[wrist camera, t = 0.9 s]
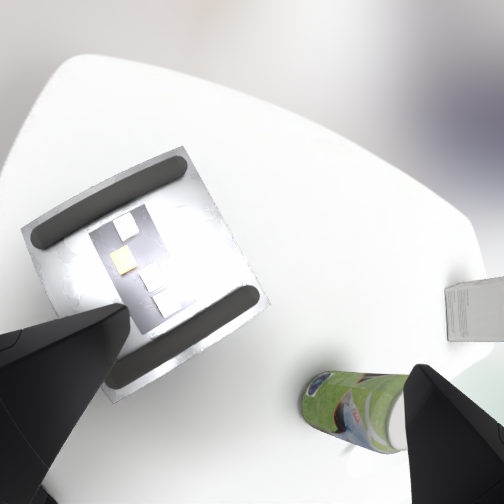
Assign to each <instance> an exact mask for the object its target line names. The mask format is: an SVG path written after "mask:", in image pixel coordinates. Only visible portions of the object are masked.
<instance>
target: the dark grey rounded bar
mask: <svg viewBox="0 0 504 504" xmlns="http://www.w3.org/2000/svg"><path fill="white" fill-rule="evenodd" d="M187 168H188V164H187V161H186V160H185V159H184V158H183V157H181V156H173V157H170V158H168V159H166V160H163V161H161V162H159V163H156V164H154V165H152V166H150V167H147V168H145V169H143V170H141V171H138V172H136V173H134V174H132V175H130V176H128V177H126V178H124V179H122V180H120V181H117V182H115V183H113V184H111V185H109V186H107V187H105V188H103V189H102V190H100V191H98V192H96V193H94V194H92V195H90V196H88V197H86V198H84V199H83V200H81V201H79V202H77V203H75V204H74V205H72V206H70V207H68V208H66V209H65V210H63V211H61V212H60V213H58V214H56V215H54V216H53V217H51V218H49V219H48V220H46V221H44V222H43V223H41V224H40V225H38V226H36V227H35V228H34V229H33V230H32V232H31V235H30V240H31V243H32V245H33V246H34V247H35V248H37V249H44V248H46V247H48V246H49V245H51V244H52V243H54V242H56V241H57V240H59V239H61V238H62V237H64V236H66V235H68V234H69V233H71V232H73V231H74V230H76V229H78V228H80V227H81V226H83V225H85V224H87V223H89V222H90V221H92V220H94V219H96V218H98V217H99V216H101V215H103V214H105V213H107V212H109V211H111V210H113V209H114V208H116V207H118V206H120V205H122V204H124V203H126V202H128V201H130V200H132V199H134V198H136V197H138V196H140V195H142V194H144V193H146V192H148V191H150V190H153V189H155V188H157V187H159V186H161V185H163V184H165V183H168V182H170V181H172V180H174V179H176V178H179V177H181V176H183V175H184V174H185V173H186V171H187Z"/></svg>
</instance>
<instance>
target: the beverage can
mask: <svg viewBox="0 0 504 504" xmlns="http://www.w3.org/2000/svg"><path fill="white" fill-rule="evenodd" d="M408 376H409V375H400V374H372V373H355V372H341V371H328V372H324V373H322V374H320V375H318V376H317V377H316V378H314V379H313V380H312V381H311V383H310V384H309V385H308V387H307V389H306V390H305V393H304V395H303V399H302V412H303V416H304V418H305V420H306V421H307V423H308V424H309V425H310V426H312V427H313V428H315V429H317V430H320V431H322V432H325V433H327V434H329V435H332V436H334V437H337V438H339V439H342V440H345V441H347V442H350V443H353V444H355V445H358V446H361V447H364V448H367V449H370V450H372V451H376V452H379V453H381V454H393V453H397V452H399V451H406V450H408V448H407V440H406V431H405V413H404V395H403V387H404V383H405V381H406V380H407V378H408Z"/></svg>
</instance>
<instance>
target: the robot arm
mask: <svg viewBox="0 0 504 504" xmlns="http://www.w3.org/2000/svg"><path fill="white" fill-rule="evenodd" d="M130 329H131V326H130V311H129V307H128V306H126V305H123V304H120V303H113V304H109V305H106V306H102V307H99V308H95V309H92V310H88V311H85V312H81V313H78V314H74V315H71V316H67V317H64V318H60V319H57V320H53V321H49V322H46V323H42V324H39V325H35V326H31V327H28V328H24V329H23V330H22V329H20V330H17V331H13V332H9V333H5V334H1V335H0V504H57V502H56V501H54V500H53V499H52V498H51V497H50V496H49V495H48V494H47V493H46V492H45V491H44V490H43V489H42V488H41V487H40V484H41V483H42V481H43V479H44V477H45V476H46V474H47V472H48V470H49V469H48V468H50V467H51V465H52V463H53V461H54V460H55V458H56V456H57V455H58V453H59V451H60V449H61V448H62V446H63V444H64V443H65V441H66V440H67V438H68V436H69V435H70V433H71V431H72V430H73V428H74V426H75V425H76V423H77V422H78V420H79V418H80V417H81V415H82V414H83V412H84V411H85V409H86V407H87V406H88V404H89V403H90V401H91V400H92V398H93V397H94V395H95V393H96V392H97V390H98V389H99V387H100V386H101V384H102V383H103V381H104V380H105V378H106V377H107V375H108V374H109V372H110V370H111V369H112V367H113V365H114V363H115V361H116V359H117V357H118V355H119V353H120V351H121V349H122V347H123V345H124V344H125V342H126V340H127V338H128V336H129V334H130ZM403 395H404V413H405V431H406V440H407V448H408V455H409V467H410V478H411V493H412V504H504V427H503V426H502V425H501V424H499V423H497V421H496V420H495V419H493V418H492V417H491V416H490V415H489V414H487V413H486V412H485V411H484V410H483V409H481V408H480V407H479V406H478V405H476V404H475V403H474V402H473V401H472V400H470V399H469V398H468V397H467V396H466V395H465V394H463V393H462V392H461V391H460V390H458V389H457V388H456V387H455V386H453V385H452V384H451V383H450V382H449V381H447V380H446V379H445V378H444V377H442V376H441V375H440V374H439V373H438V372H436V371H435V370H434V369H433V368H431V367H430V366H429V365H427V364H416V365H415V366H414V367H413V369H412V371H411V373H410V374H409V376H408V378H407V380H406V381H405V383H404V387H403Z"/></svg>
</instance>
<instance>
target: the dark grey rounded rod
mask: <svg viewBox="0 0 504 504" xmlns="http://www.w3.org/2000/svg"><path fill="white" fill-rule="evenodd" d="M259 299H260V293H259V291H258V289H257V288H256V287H254V286H252V285H245V286H243V287H241V288H239V289H238V290H236V291H235V292H233V293H231V294H230V295H228V296H227V297H225V298H223V299H222V300H220V301H219V302H217V303H215V304H214V305H212V306H211V307H209V308H207V309H206V310H204V311H202V312H201V313H199V314H198V315H196V316H194V317H193V318H191V319H189V320H188V321H186V322H185V323H183V324H181V325H180V326H178V327H176V328H175V329H173V330H171V331H170V332H168V333H166V334H165V335H163V336H161V337H160V338H158V339H156V340H155V341H153V342H151V343H150V344H148V345H146V346H145V347H143V348H141V349H140V350H138V351H136V352H135V353H133V354H131V355H129V356H128V357H126V358H124V359H123V360H121V361H119V362H117V363H116V364H114V365H113V367H112V369H111V370H110V372H109V374H108V375H107V377H106V378H105V380H104V382H105V384H106V385H107V386H108V387H109V388H111V389H114V390H118V389H121V388H123V387H125V386H126V385H128V384H130V383H132V382H133V381H135V380H137V379H138V378H140V377H142V376H144V375H145V374H147V373H149V372H150V371H152V370H154V369H155V368H157V367H159V366H160V365H162V364H164V363H165V362H167V361H169V360H170V359H172V358H174V357H175V356H177V355H178V354H180V353H182V352H183V351H185V350H187V349H188V348H190V347H191V346H193V345H195V344H196V343H198V342H199V341H201V340H203V339H204V338H206V337H207V336H209V335H210V334H212V333H214V332H215V331H217V330H218V329H220V328H221V327H223V326H225V325H226V324H228V323H229V322H231V321H232V320H234V319H235V318H237V317H238V316H240V315H241V314H243V313H244V312H246V311H247V310H249V309H250V308H252V307H253V306H255V305H256V304H257V303H258V302H259Z"/></svg>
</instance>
